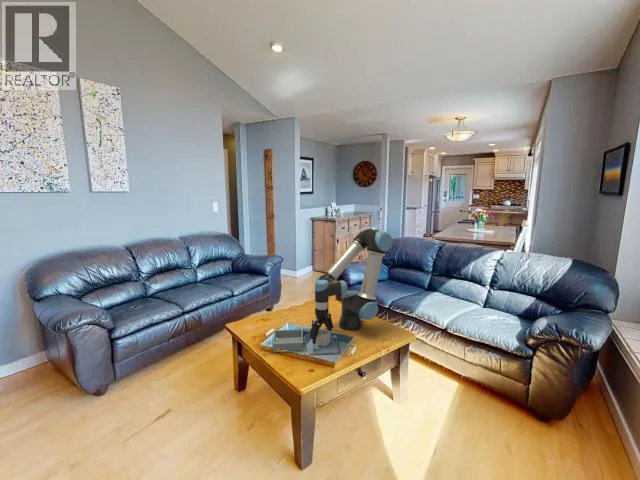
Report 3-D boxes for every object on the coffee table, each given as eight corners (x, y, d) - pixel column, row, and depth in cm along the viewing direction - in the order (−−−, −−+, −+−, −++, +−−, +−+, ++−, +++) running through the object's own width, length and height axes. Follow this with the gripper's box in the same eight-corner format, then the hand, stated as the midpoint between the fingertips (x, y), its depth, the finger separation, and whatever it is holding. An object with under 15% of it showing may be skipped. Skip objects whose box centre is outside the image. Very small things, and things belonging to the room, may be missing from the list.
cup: (323, 351, 169) (323, 337, 168) (310, 347, 173) (310, 334, 172) (332, 343, 179) (332, 330, 177) (320, 339, 182) (320, 327, 181)
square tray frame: (337, 337, 187) (337, 333, 187) (342, 355, 167) (342, 351, 166) (302, 338, 185) (302, 335, 185) (303, 357, 165) (303, 353, 165)
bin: (302, 337, 186) (302, 329, 185) (303, 351, 170) (303, 342, 169) (274, 338, 185) (274, 330, 184) (272, 352, 169) (272, 344, 168)
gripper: (329, 300, 183) (329, 335, 187) (302, 312, 166) (303, 350, 170) (339, 303, 179) (339, 339, 182) (312, 315, 161) (313, 355, 165)
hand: (321, 344), depth 176 cm, fingers closed on cup, 11 cm apart
